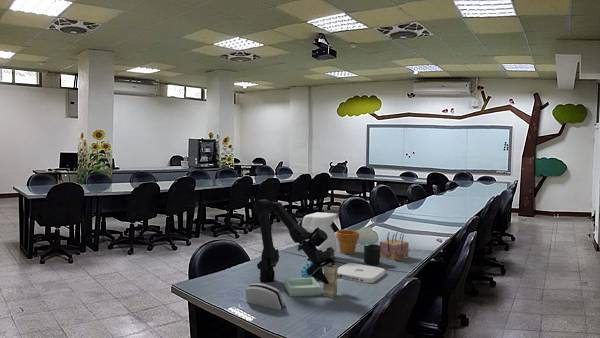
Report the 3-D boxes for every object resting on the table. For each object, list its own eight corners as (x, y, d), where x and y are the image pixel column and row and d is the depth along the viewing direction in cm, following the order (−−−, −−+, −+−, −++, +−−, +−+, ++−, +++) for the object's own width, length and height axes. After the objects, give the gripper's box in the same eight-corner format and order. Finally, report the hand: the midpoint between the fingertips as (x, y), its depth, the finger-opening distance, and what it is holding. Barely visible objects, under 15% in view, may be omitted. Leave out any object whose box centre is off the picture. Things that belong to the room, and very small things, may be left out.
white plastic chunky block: (342, 256, 261) (343, 214, 259) (320, 266, 238) (321, 220, 237) (312, 251, 272) (313, 210, 271) (288, 260, 250) (289, 216, 248)
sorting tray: (289, 296, 189) (290, 288, 188) (284, 286, 202) (284, 278, 202) (320, 294, 192) (320, 287, 191) (313, 284, 205) (313, 277, 205)
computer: (386, 273, 228) (386, 268, 228) (371, 284, 209) (371, 279, 209) (348, 267, 239) (348, 262, 239) (330, 276, 220) (330, 271, 220)
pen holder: (379, 266, 241) (380, 248, 241) (363, 264, 243) (363, 247, 243) (380, 261, 250) (380, 244, 250) (363, 260, 252) (364, 243, 252)
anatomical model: (393, 261, 252) (394, 236, 252) (378, 257, 261) (379, 232, 260) (409, 257, 262) (410, 233, 261) (395, 253, 271) (395, 230, 270)
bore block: (332, 297, 188) (332, 267, 188) (323, 295, 191) (323, 266, 190) (336, 294, 192) (337, 265, 192) (328, 292, 195) (328, 263, 194)
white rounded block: (286, 306, 177) (282, 285, 174) (280, 313, 173) (276, 292, 170) (253, 298, 185) (248, 278, 182) (246, 305, 181) (242, 285, 178)
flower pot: (351, 256, 261) (351, 235, 260) (331, 252, 269) (332, 232, 269) (362, 252, 272) (363, 232, 272) (343, 248, 281) (344, 229, 280)
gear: (296, 273, 217) (308, 258, 221) (301, 280, 220) (313, 264, 224) (312, 282, 209) (323, 265, 213) (317, 288, 212) (328, 272, 216)
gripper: (313, 245, 185) (335, 275, 179) (333, 238, 200) (354, 265, 195) (297, 260, 189) (318, 290, 184) (318, 252, 205) (338, 279, 200)
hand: (333, 281), depth 190 cm, fingers open, 9 cm apart
